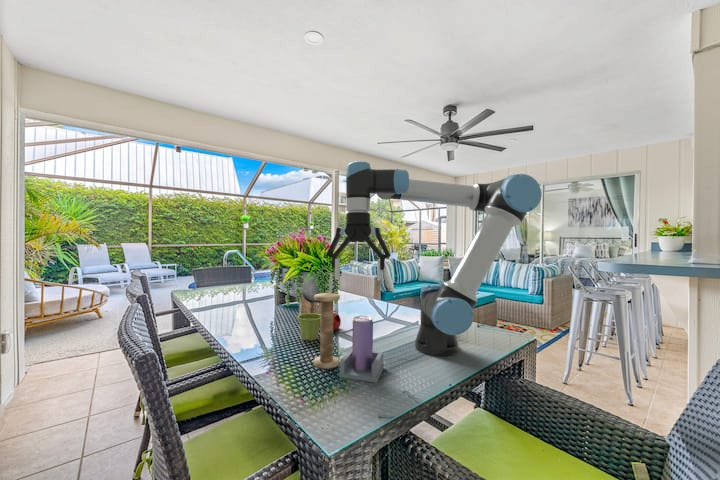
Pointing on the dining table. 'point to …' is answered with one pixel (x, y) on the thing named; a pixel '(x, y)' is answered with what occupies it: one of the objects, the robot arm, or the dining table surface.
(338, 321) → the pomegranate
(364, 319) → the beverage can
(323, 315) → the spool
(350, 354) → the gray open box
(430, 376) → the dining table surface
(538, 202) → the robot arm
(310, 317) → the plant pot
